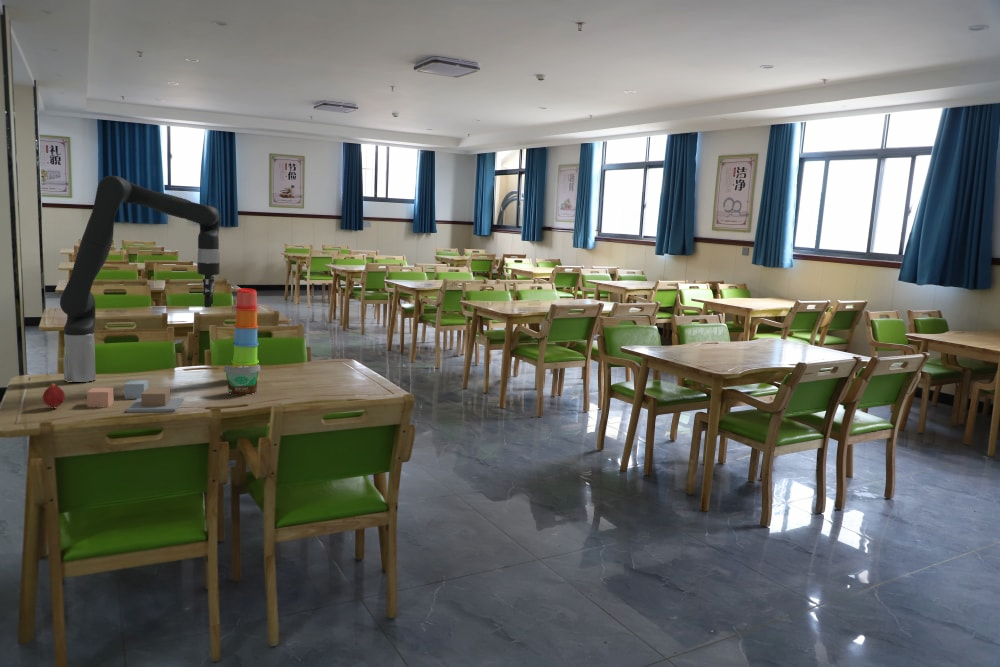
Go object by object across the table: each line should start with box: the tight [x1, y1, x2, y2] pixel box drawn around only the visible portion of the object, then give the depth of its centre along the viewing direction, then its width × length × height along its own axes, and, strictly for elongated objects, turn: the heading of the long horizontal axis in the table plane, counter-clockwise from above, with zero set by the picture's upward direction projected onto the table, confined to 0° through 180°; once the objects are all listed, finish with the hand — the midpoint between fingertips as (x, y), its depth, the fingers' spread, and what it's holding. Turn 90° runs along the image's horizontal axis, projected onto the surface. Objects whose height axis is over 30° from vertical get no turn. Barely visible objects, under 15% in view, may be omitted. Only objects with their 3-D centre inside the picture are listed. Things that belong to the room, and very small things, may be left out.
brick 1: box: [86, 387, 115, 408], centre depth 234 cm, size 6×6×5 cm
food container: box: [223, 364, 261, 396], centre depth 256 cm, size 12×6×10 cm, turn 117°
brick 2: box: [123, 379, 149, 400], centre depth 246 cm, size 6×6×5 cm
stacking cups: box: [230, 287, 260, 381], centre depth 275 cm, size 10×10×35 cm
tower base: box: [126, 388, 185, 413], centre depth 235 cm, size 14×14×5 cm
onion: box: [42, 383, 66, 408], centre depth 227 cm, size 6×6×8 cm
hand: (208, 305), depth 269 cm, fingers open, 8 cm apart
